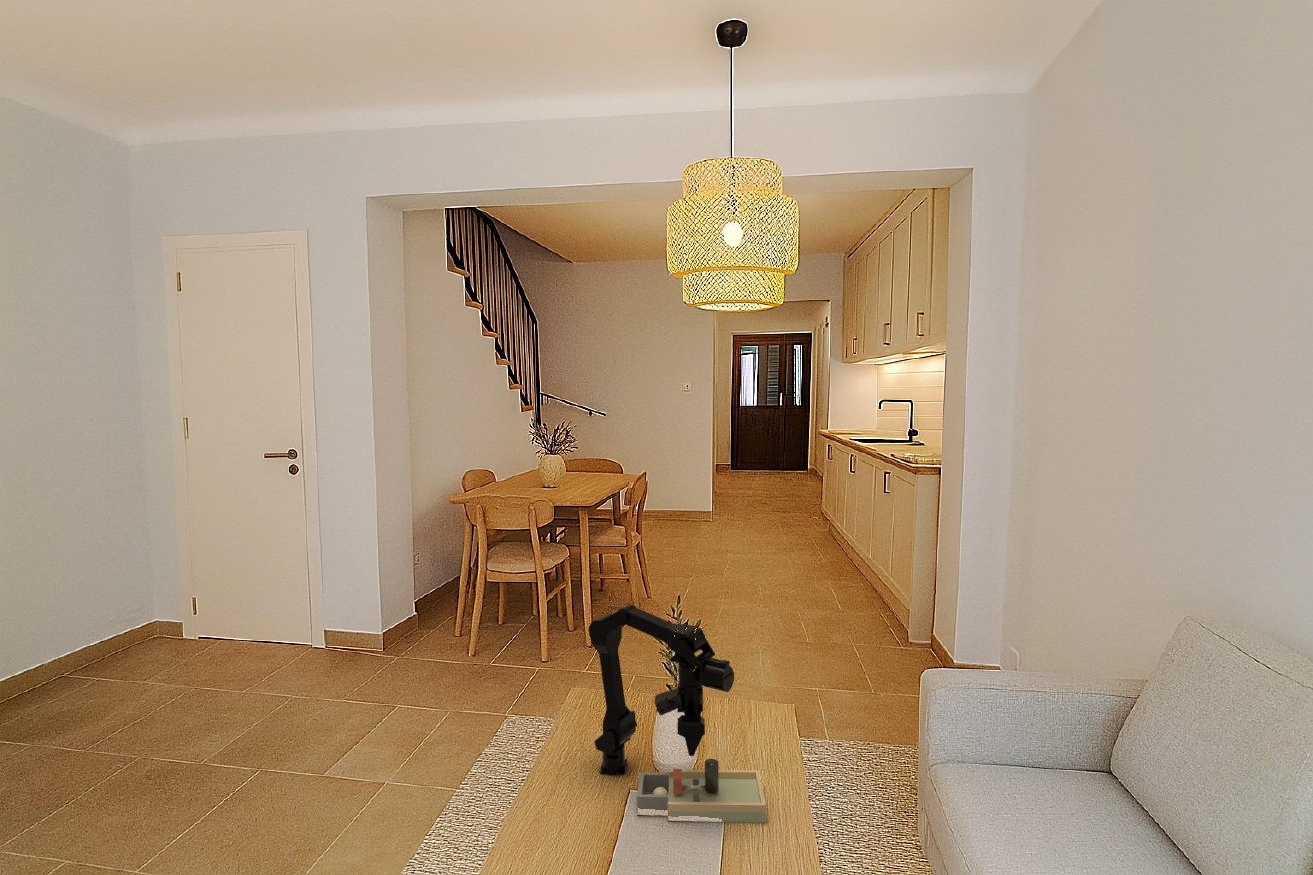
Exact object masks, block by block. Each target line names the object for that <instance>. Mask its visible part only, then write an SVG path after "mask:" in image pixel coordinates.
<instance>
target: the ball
mask: <svg viewBox="0 0 1313 875" xmlns="http://www.w3.org/2000/svg"><path fill="white" fill-rule="evenodd" d="M652 795H668V793H667V791H666V789H665V788H663V787H658V788H656V789H655V790H654V792H653V793H652Z"/></svg>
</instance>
